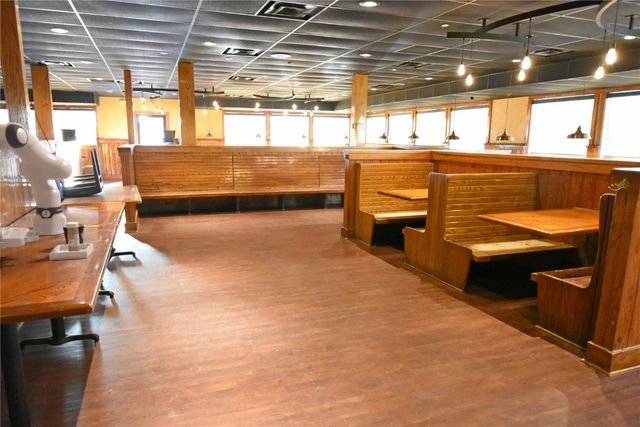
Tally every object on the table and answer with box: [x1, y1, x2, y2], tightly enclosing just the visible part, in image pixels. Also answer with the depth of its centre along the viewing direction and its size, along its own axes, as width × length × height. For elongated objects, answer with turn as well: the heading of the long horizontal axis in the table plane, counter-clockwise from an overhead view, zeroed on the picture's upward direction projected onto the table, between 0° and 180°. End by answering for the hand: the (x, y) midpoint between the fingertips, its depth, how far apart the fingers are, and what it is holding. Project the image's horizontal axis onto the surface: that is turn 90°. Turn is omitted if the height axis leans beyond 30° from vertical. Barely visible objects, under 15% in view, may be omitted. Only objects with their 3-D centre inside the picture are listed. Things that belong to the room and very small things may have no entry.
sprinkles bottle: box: [66, 221, 80, 252], centre depth 187 cm, size 5×5×13 cm
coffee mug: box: [63, 223, 85, 245], centre depth 202 cm, size 12×9×10 cm
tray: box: [48, 242, 94, 261], centre depth 188 cm, size 14×14×3 cm
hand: (39, 235), depth 181 cm, fingers open, 8 cm apart
